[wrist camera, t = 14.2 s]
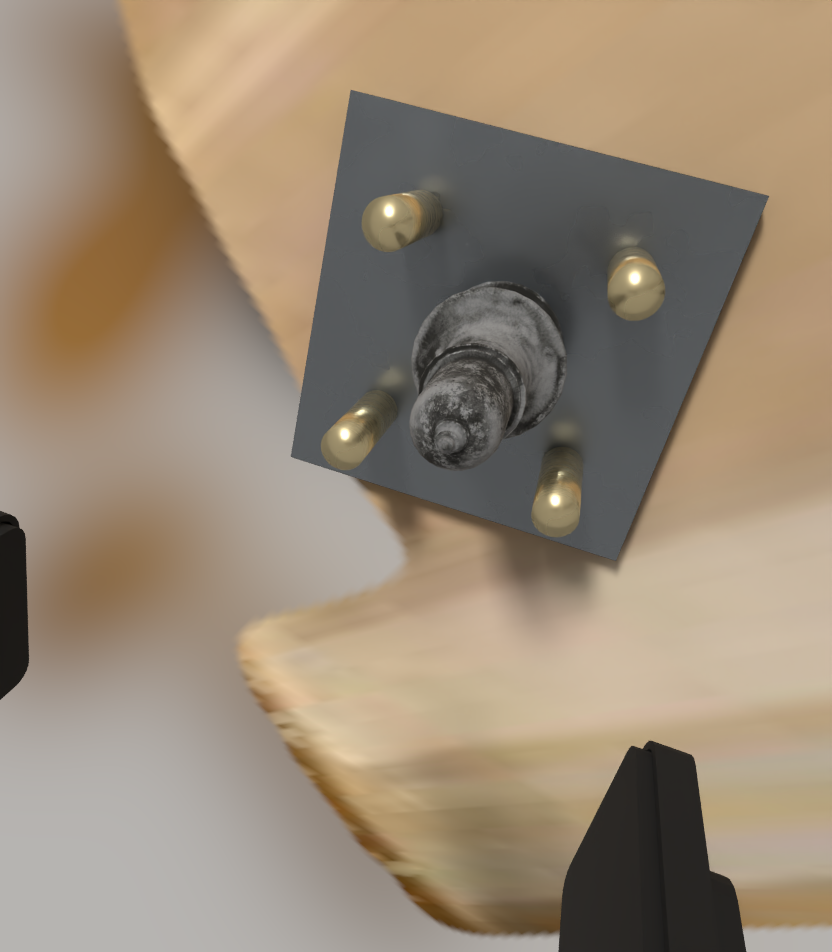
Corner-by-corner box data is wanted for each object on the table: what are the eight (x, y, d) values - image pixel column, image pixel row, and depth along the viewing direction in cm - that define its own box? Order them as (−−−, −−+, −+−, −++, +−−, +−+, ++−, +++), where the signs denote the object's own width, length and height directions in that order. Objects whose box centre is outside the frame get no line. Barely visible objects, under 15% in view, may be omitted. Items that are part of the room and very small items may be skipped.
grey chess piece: (600, 355, 29) (600, 467, 19) (490, 437, 32) (435, 578, 21) (508, 241, 29) (453, 292, 18) (402, 335, 31) (299, 429, 20)
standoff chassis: (762, 194, 27) (803, 204, 21) (615, 548, 34) (617, 623, 29) (360, 92, 29) (302, 77, 23) (300, 448, 36) (244, 500, 30)
